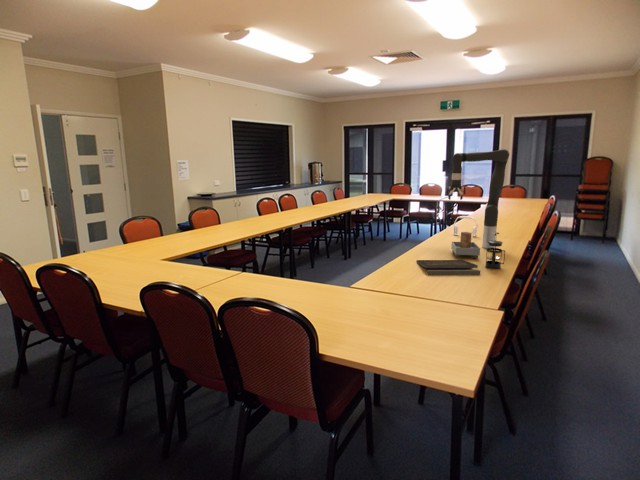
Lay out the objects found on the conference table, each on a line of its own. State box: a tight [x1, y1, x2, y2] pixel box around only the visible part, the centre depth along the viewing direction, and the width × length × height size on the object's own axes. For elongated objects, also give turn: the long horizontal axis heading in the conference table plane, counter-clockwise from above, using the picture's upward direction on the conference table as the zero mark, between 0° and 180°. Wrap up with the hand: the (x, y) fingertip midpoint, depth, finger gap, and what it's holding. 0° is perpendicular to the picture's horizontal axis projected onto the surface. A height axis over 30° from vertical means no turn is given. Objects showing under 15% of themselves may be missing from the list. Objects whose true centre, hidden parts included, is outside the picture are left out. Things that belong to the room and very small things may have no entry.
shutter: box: [416, 259, 481, 276], centre depth 263 cm, size 32×7×31 cm
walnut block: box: [459, 231, 473, 248], centre depth 291 cm, size 5×5×12 cm
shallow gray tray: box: [451, 241, 481, 260], centre depth 293 cm, size 16×20×8 cm
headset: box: [453, 215, 478, 237], centre depth 362 cm, size 20×7×18 cm, turn 64°
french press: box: [484, 231, 506, 270], centre depth 261 cm, size 12×9×23 cm
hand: (455, 199), depth 323 cm, fingers open, 8 cm apart
